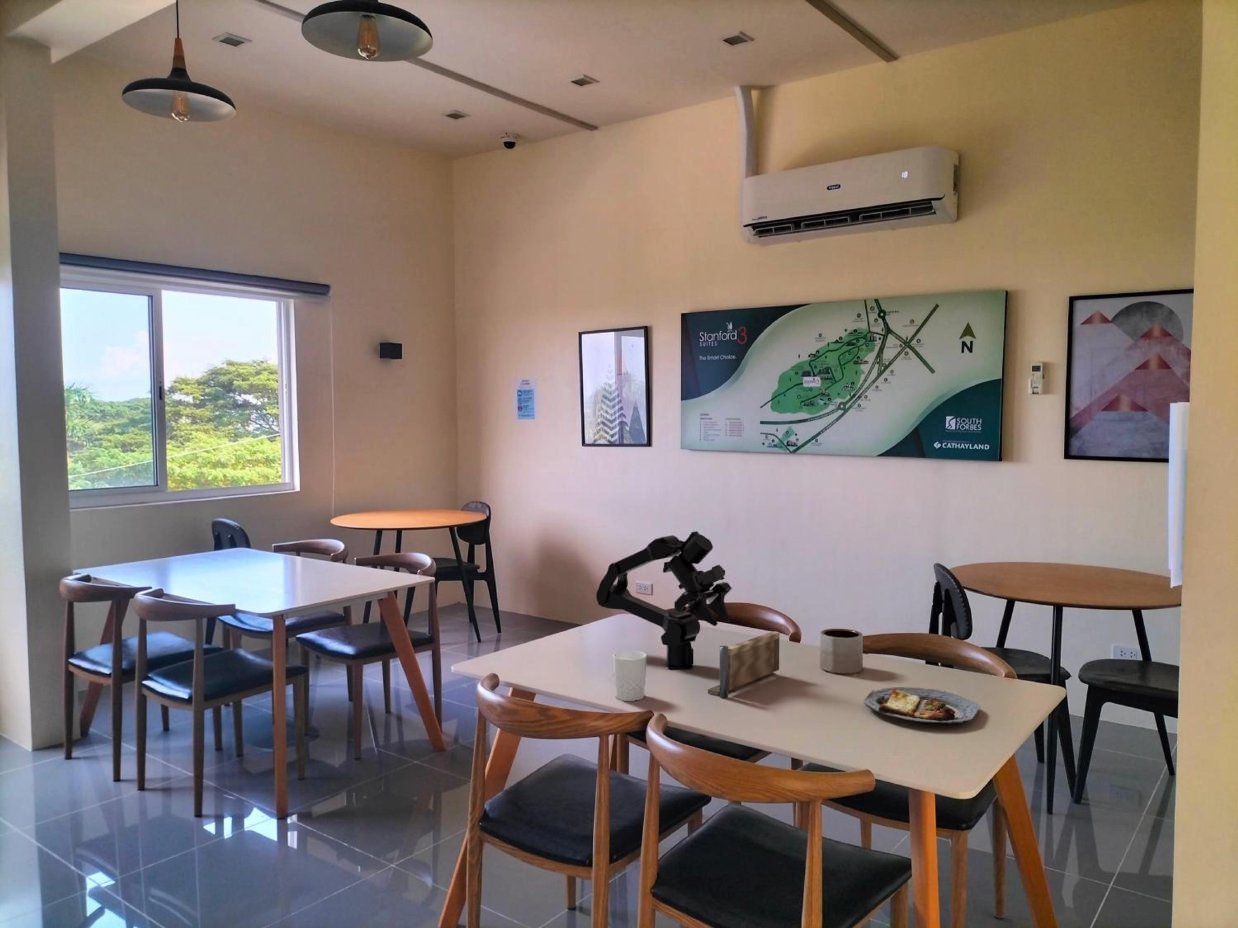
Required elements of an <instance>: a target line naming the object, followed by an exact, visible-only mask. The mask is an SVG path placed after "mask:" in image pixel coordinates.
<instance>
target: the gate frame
mask: <svg viewBox="0 0 1238 928" xmlns="http://www.w3.org/2000/svg"><path fill="white" fill-rule="evenodd" d="M728 647H729V646H727V645H720V646H719V684H718V685H715V686H713V687H710V688H708V689H707V694H708V695H713V696H716V697H719V698H720V699H728V698H729V692H731V691H734V690H737V689H739V688H741V687H743V686H746V685H748V684H751V683H753V682H756V681H758V680H760V679H762V678H763V679H764V678H765V677H768V676H770V675H773V674H775V672H772V673H770V674H767V675H765V676H762V677H760V678H757V679H755V680H753V681H750V682H748V683H745V684H743V685H740V686H738V687H736V688H733V689H731V690H729V689H728ZM719 695H720V696H719Z"/></svg>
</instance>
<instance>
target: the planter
mask: <svg viewBox="0 0 1238 928" xmlns="http://www.w3.org/2000/svg"><path fill="white" fill-rule="evenodd" d="M863 639H864V638H863V633H862V632H860V631H857V630H855V629H854V630H853V629H849V628H848V629H847V628H827V629H823V630H821V631H820V639H819V640H820V641H819V642H820V643H819V646H820V647H819V666H820V668H821V669H822V670H823V671H824V672H827V673H831V674H835V675H855V673H856V674H858V673H860V672H861V671H862V670H863V667H864V666H863V664H864V663H863V659H864V658H863V656H864V654H863V652H864V651H863V645H864V644H863V642H864V641H863Z"/></svg>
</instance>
